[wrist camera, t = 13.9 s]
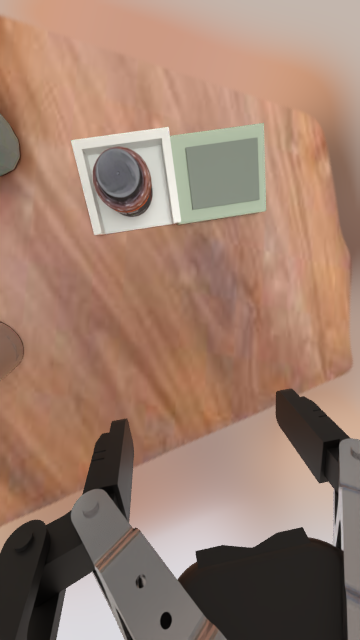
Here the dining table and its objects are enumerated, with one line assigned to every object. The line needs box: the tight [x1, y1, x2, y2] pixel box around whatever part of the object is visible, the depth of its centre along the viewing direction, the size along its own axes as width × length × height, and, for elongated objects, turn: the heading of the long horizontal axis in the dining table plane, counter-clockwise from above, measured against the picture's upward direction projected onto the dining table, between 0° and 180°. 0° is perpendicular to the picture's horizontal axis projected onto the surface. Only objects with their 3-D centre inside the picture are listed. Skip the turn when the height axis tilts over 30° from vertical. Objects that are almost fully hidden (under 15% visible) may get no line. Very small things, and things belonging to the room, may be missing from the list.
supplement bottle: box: [92, 146, 153, 217], centre depth 28 cm, size 6×6×11 cm
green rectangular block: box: [170, 123, 266, 225], centre depth 33 cm, size 12×10×3 cm
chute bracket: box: [71, 127, 181, 235], centre depth 32 cm, size 12×10×3 cm
